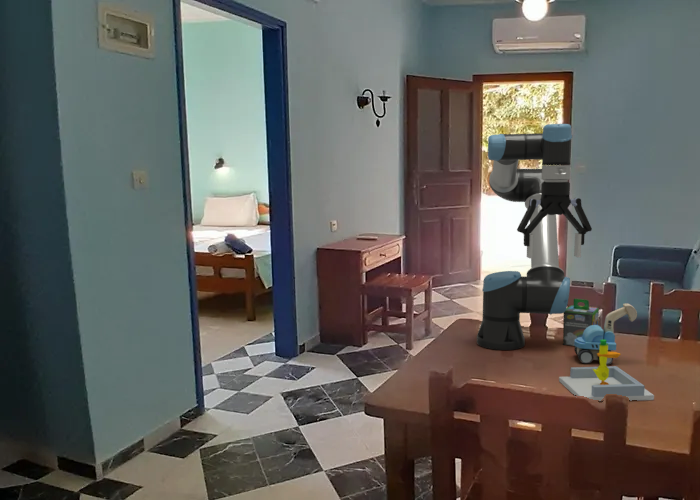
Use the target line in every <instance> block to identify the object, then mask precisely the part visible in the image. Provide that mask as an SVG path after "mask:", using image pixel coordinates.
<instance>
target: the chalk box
mask: <svg viewBox="0 0 700 500" xmlns="http://www.w3.org/2000/svg"><path fill="white" fill-rule="evenodd" d="M579 303H583V304H584V305H579ZM599 310H600V309H599V307H597V306H590V302H589V300H588V299H585V298H584V299H583V298H574V299H573V305H570V306H567V308H566V311H565V312H564V313H563V315H562V317H563V324H562V325H563V326H562V327H563V328H562V329H563V331H562V335H563V336H562V338H563V339H562V340H563V341H562V344H563V345H564V346H565V345H566V346H573V347H575V345H574V340H575V339H577V338H578V337H582V335H583V332H584V330H585V329H586V328H587V327H589V326H591V325H599V322H600V321H599V319H600V318H599V317H600V314H599V312H600V311H599ZM599 326H600V325H599Z"/></svg>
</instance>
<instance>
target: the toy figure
mask: <svg viewBox="0 0 700 500" xmlns="http://www.w3.org/2000/svg"><path fill="white" fill-rule="evenodd" d="M606 341H607V340H605V339H602V340H600V342H601V343H600V344H599V345H600V347H599V353H597V355H598V356H599V359H600V361H599V365H598V366H597V367H598V368H597V370H596V369H593V371H594V372H595V374H596V375H597V377H598V378H599V380H602V382H601V383H600V385H609V384H608V383H607V382H604V380H606V379H607V378H608V376H609V369H608V367H607V366H608V365H606V363H607V358H613V359H617V358H619V357H620V356H621V353H620V352H617V351H611V352H609V351H608V343H606Z"/></svg>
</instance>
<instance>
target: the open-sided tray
mask: <svg viewBox="0 0 700 500" xmlns="http://www.w3.org/2000/svg"><path fill="white" fill-rule="evenodd" d="M606 366H607V367H608V369H609V376H608V378H607V379H606V380H604V382H607V383H608V384H609V385H600V383H601V382H602V380H599V378H598V377H597V375H596V374H595V372H594V371H593V369H596V370H597V368H598V367H599V366H578V367H576V366H575V367H574V366H573V367H570V370H569V371H570V373H569V374H570V375H569V376H559V377H558V381H559V383H560V384H561V385H562V386H563V387H565V388H566V389H567V390H568V391H569V392H570V393H571V394H572V395H573V394H574V395H573V396H575V395H577V396H584V397H587V398H589V399H593V400H599V401H601V400H602V399H603V398H604V396H605V395H606V394H617V395H622V396H626V397H628V398H629V400H630V401H632V400H637V401H654V400H655V395H654V394H653V393H652V392H650V391H649V390H648V389H646V388H645V385H644V384H643V383H641V382H640V381H638V380H637V379H636V378H634V377H633V376H631V375H630V374H628V373H627V372H625V371H624V370H622V369H621V368H620V367H618V365H616V366H615V365H614V366H613V365H611V366H610V365H606ZM632 402H633V401H632Z"/></svg>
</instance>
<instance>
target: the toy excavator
mask: <svg viewBox="0 0 700 500" xmlns="http://www.w3.org/2000/svg"><path fill="white" fill-rule="evenodd" d="M622 306H623V307H620V308H618V309H616V310H613V311H611V312H609V313H607V314H606V315H605V319H604V324H603V325H604V326H603V327H601V325H591V326H589V327H587V328H586V329H585V330H584V332H583V335H582V337H578V338H577V339H575V340H574V345H575V346H574V353H575V355H576V356H577V358H578V360H579V361H580V362H581V363H582V364H584V365H585V364H591V363H592V362H593V361H598V362H600V359H599V356H598V355H597V353H599V347H600V345H599V344H600V343H601V342H600V340H602V339H605V340H607V341H606V343H608V351H609V352H612V351H617V343H616V340H615V339H616V334H615V332H614V331H615V330H614V327H615V326H614V324H615V322H616V321H617V320H619V319H620V318H622V317H624V316H626V315H627V316H628V320H629V322H634V321H635V320H636V319H637V318H638V312H637V309H636V308H635V307H634V306H633V305H631V304H630V303H622ZM613 362H614V358H607V363H606V366H610V364H612V363H613Z"/></svg>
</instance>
